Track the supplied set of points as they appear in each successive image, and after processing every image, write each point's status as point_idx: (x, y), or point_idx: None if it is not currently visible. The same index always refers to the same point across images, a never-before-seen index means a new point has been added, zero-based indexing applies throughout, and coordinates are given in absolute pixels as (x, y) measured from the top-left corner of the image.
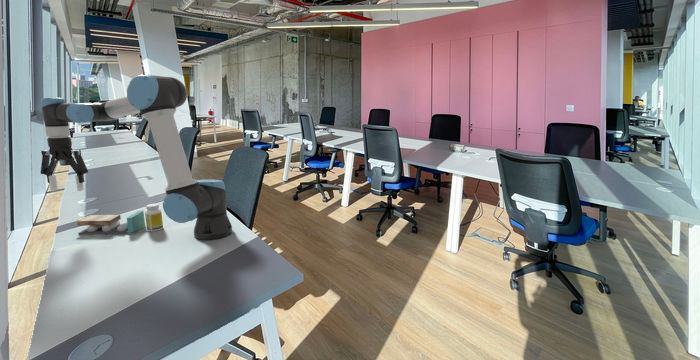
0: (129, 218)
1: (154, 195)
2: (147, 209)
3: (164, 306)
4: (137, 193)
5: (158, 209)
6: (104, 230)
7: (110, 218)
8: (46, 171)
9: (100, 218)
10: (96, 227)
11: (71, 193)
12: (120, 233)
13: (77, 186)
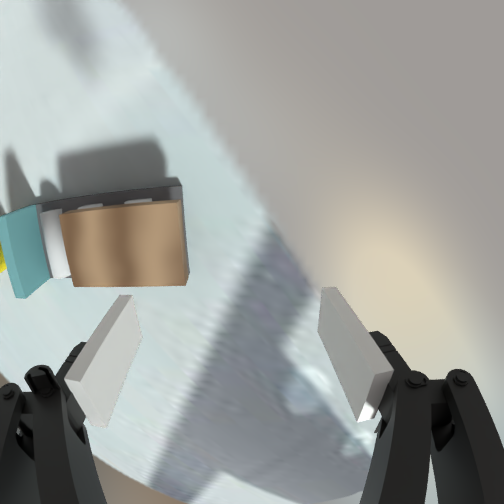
0: (1, 216)
1: (218, 477)
2: None
3: None
4: (269, 482)
5: None
6: (96, 204)
7: (72, 241)
8: (430, 405)
9: (105, 240)
10: None
11: None
12: (55, 201)
13: (115, 315)
